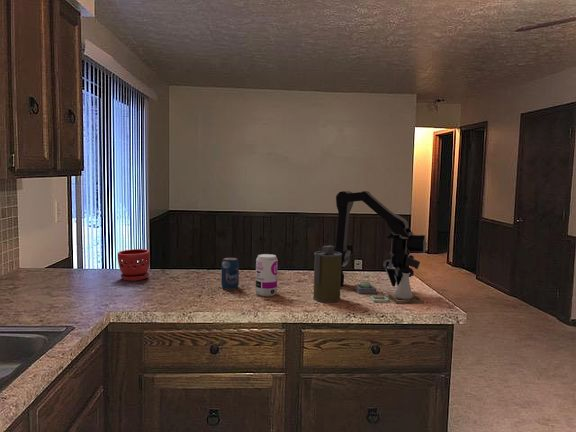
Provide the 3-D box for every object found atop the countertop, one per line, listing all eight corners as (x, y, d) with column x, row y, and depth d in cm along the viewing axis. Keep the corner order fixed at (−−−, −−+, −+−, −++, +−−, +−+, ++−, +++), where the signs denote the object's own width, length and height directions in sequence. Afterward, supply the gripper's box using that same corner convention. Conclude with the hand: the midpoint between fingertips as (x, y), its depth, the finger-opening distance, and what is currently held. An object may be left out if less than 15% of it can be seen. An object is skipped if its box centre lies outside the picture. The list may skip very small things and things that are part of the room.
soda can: (227, 290, 190) (228, 260, 189) (218, 287, 195) (218, 258, 194) (242, 288, 194) (242, 258, 193) (232, 284, 200) (232, 256, 198)
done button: (361, 288, 192) (361, 284, 191) (359, 286, 196) (359, 281, 195) (371, 288, 192) (371, 283, 192) (368, 286, 196) (368, 281, 196)
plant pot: (137, 274, 216) (137, 247, 215) (156, 278, 208) (156, 250, 207) (111, 278, 205) (111, 251, 204) (130, 283, 198) (130, 254, 197)
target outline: (396, 303, 177) (396, 300, 177) (388, 296, 187) (388, 294, 187) (423, 303, 178) (423, 300, 178) (413, 296, 188) (413, 293, 188)
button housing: (358, 293, 190) (359, 288, 190) (354, 289, 197) (354, 284, 197) (376, 293, 191) (376, 288, 191) (371, 289, 198) (371, 284, 198)
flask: (413, 301, 181) (416, 276, 178) (393, 299, 182) (396, 274, 180) (412, 293, 188) (415, 269, 185) (393, 291, 189) (396, 267, 186)
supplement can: (280, 292, 188) (281, 255, 187) (270, 297, 181) (271, 258, 180) (262, 290, 192) (262, 253, 190) (251, 295, 184) (252, 256, 183)
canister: (325, 293, 189) (326, 243, 187) (346, 299, 181) (348, 246, 179) (306, 298, 181) (307, 245, 179) (327, 304, 174) (329, 249, 172)
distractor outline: (374, 302, 178) (374, 300, 178) (369, 297, 184) (369, 295, 184) (389, 302, 179) (390, 300, 179) (384, 297, 185) (384, 295, 185)
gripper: (427, 254, 182) (425, 294, 184) (409, 246, 201) (407, 282, 202) (399, 254, 181) (397, 295, 183) (383, 246, 199) (382, 283, 201)
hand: (397, 288), depth 192 cm, fingers open, 7 cm apart
